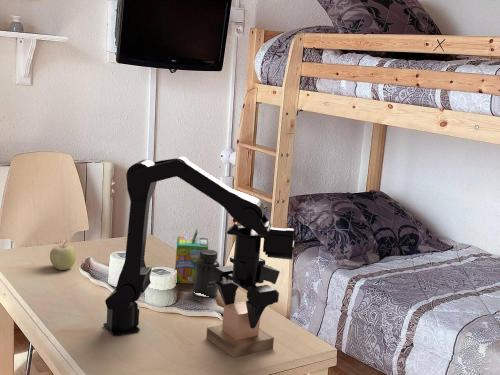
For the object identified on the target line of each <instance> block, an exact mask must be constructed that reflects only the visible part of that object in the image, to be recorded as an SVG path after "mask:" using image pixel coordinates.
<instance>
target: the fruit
mask: <svg viewBox="0 0 500 375" xmlns="http://www.w3.org/2000/svg"><path fill="white" fill-rule="evenodd" d="M49 259H50V263H51V265H52V266H53V267H54V268H55V269H56V270H60V271H65V270H69V269H71V268H72V267H73V266H74V264H75V263H76V260H77V253H76V250H75V248H74V247H73V246H72V245H69V244H66V242H63V244H59V245H56V246H55V245H54V246H53V248H52V249H51V250H50V253H49Z"/></svg>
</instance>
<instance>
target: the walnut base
mask: <svg viewBox="0 0 500 375" xmlns="http://www.w3.org/2000/svg"><path fill="white" fill-rule="evenodd" d="M205 337H206V339H208V340H209V341H210V342H212V343H213V344H214V345H215V346H217V347H218V348H219V349H220V350H222V351H224V352H225V353H226V354H228V355H229V356H230V357H231V358H236V357H241V356H246V355H249V354H253V353H258V352H262V351H267V350H270V349H273V348H274V342H275V341H274V340H275V338H274V336H272V335H271V334H269V333H267V332H266V331H265V330H262V329H261V328H260V327H259V335H258V336H253V337H249V338H244V339H239V340H236V339H234V338H233V337H231V336H230V335H229V334H227V333H226V332H224V331H223V330H222V324H218V325H214V326H209V327H207V328H206V336H205Z"/></svg>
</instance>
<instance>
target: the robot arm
mask: <svg viewBox="0 0 500 375" xmlns="http://www.w3.org/2000/svg"><path fill="white" fill-rule="evenodd" d="M125 174H126V176H125V177H126V188H127V189H126V190H127V193H128V198H129V201H130V205H129V215H128V216H129V217H128V225H127V236H126V246H125V259H124V263H123V266H122V268H121V271H120V274H119V277H118V280H117V283H116V287H115V289H113V291H112V292H111V293H110V294H109V296H108V297H107V298H105V299H104V302H105V305H106V322H104V323H103V327H104V328H105V329H106V330H108V331H109V333H110V334H111V335H113V336H116V337H117V336H121V335H127V334H132V333H137V332H140V331H141V330H140V329H141V328H140V327H139V324H140V308H138V307H139V304H138V303H137V301H138V300H139V299H140V297H141V296H142V295H143V294H144V292H146V290H147V288H148V287H149V286H150V285H151V284H152V282H151V273H152V267H149V266H148V267H147V265H146V263H145V262H146V261H145V254H146V243H147V236H148V235H147V233H148V226H149V225H148V224H149V215H150V203H151V199H152V197H153V194H154V192H155V189H156V185H157V183H158V182H160V181H161V182H162V181H164V180H169V179H171V178H179V179H180V180H182V181H184V182H185V183H187V184H188V185H190V186H191V187H193V188H194V189H196V190H198V191H199V192H200V193H203V194H204V195H205V196H207V197H209V198H210V199H211V200H213V201H215V202H216V203H217V204H219V205H220V206H221V207H223V208H224V209H225V210H226V212H227V213H228V214H229V215H230V216H231V217H232V218H233V219H234V220H235V222H234V224H233V225H232V226H230V227H229V228H228V230H227V231H226V234H227V235H230V236H232V235H233V236H235V240H234V249H233V256H229V262H230V263H232V265H224V266H223V265H222V266H220V267H216V268H215V269H214V270H213V271H212V279H213V280H214V281H215V284H216V286H217V288H218V292H219V295H220V296H221V299H222V302H223V304H224V305H228V304H233V303H236V295H237V291H238V289H239V288H242V289H243V290H246V291H247V292H246V299H247V300H245V301H246V306H247V312H248V318H249V324H250V328H255V327H256V325H257V323H258V321H259V319H260V320H261V316H262V315H263V312H264V310H265V309H266V308H267V307H268V306H271V305H273V304H276V303H279V298H280V292H279V291H278V290H277V289H275V287H272V286H270V285H268V284H264V285H257V284H263V283H264V281H265V282H269V283H271V284H272V285H276V284H277V281H278V278H279V276H280V273H281V271H280V270H278V269H276V268H274V267H272V266H269V265H268V264H266V260H265V259H263V258H261V257H260V256H261V243H262V239H263V245H262V253H265V254H264V255H266V257H267V258H272V259H279V260H280V259H281V260H291V261H292V260H293V258H294V257H293V256H294V247H295V240H294V238H295V229H294V228H281V227H272V224H271V222H270V221H269V219H268V218H267V216H266V214H265V207H264V204H263V202H262V201H261V200H260V199H259V198H258V197H255V196H252V195H250V194H247V193H245V192H243V191H239V190H236V189H234V188H231V187H230V186H228V185H226V184H225V183H224V182H222V181H220V180H219V179H217V178H216V177H214V176H213V175H211V174H210V173H208V172H206V171H205V170H203V169H202V168H200V167H199V166H198V165H195V164H194V163H193V162H191V161H190V160H189V159H188V158H187V157H185V156H177V157H175V158H170V159H162V160H157V161H153V160H150V159H142V160H139V161H137V162H136V163H134V164H132V165H130V167H128V168H127V171H126V173H125Z"/></svg>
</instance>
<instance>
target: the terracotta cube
mask: <svg viewBox="0 0 500 375" xmlns="http://www.w3.org/2000/svg"><path fill="white" fill-rule="evenodd" d="M246 301H247V300H245V301H241V302H235V303H233V304H228V305H225V304H224V305H223V312H222V324H221V325H222V330H223V331H224V332H226V333H227V334H229V335H230V336H231V337H233V338H234V339H236V340H239V339H244V338H249V337H253V336H258V335H259V328H260V323H261V318H260V319H259V321H258V323H257V325H256V327H255V328H250V324H249V318H248V312H247V306H246Z"/></svg>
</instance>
